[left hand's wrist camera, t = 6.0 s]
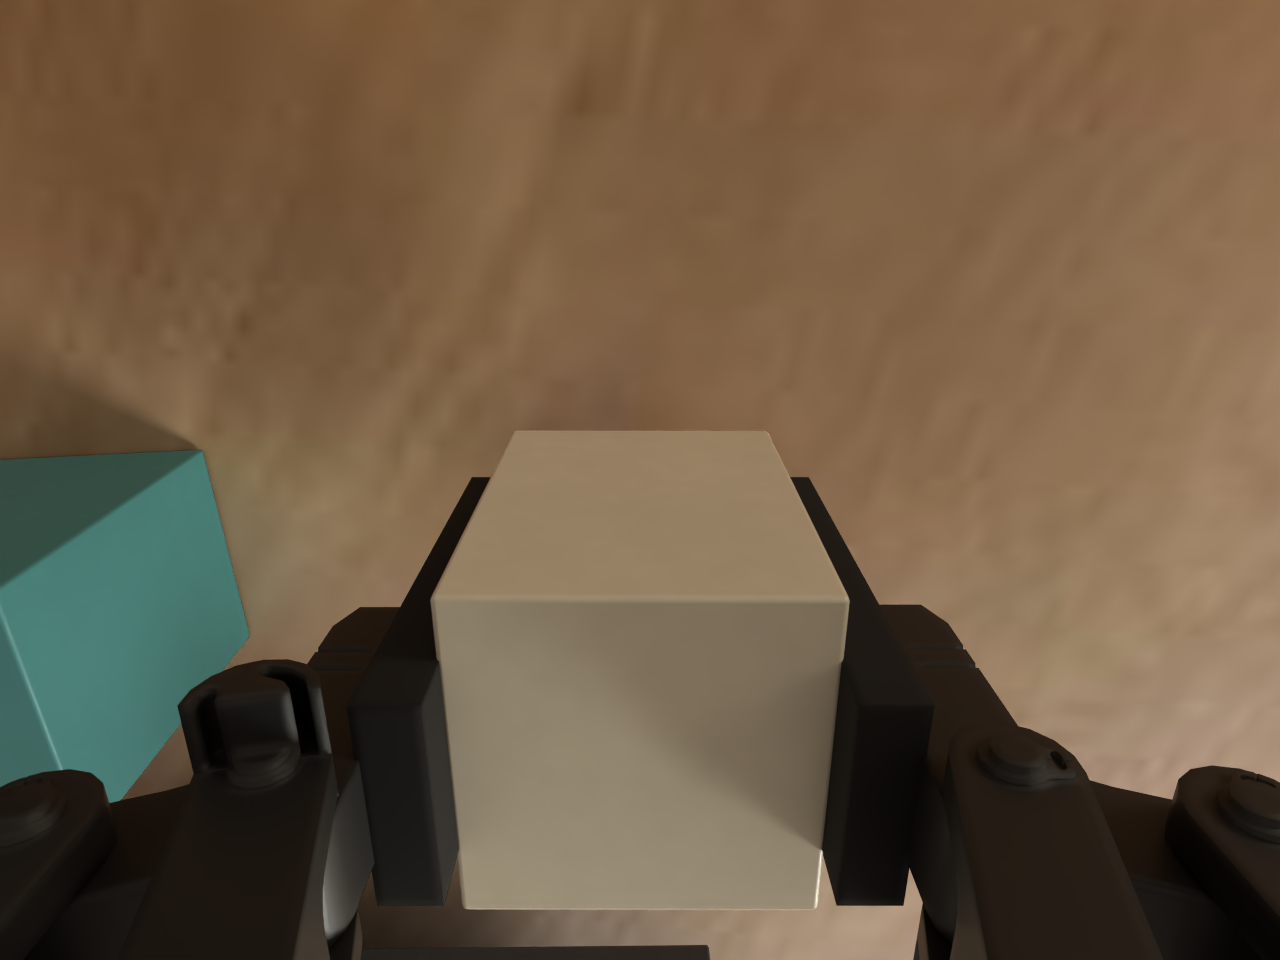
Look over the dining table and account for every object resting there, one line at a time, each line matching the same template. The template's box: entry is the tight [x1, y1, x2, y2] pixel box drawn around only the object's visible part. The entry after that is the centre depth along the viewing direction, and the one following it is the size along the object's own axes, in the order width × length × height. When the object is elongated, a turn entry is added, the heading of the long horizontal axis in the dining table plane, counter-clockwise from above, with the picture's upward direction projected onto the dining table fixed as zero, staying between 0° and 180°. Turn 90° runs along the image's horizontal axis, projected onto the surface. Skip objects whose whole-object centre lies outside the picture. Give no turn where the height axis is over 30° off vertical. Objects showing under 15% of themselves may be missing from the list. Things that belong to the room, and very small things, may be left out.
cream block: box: [430, 431, 850, 910], centre depth 12 cm, size 4×4×6 cm
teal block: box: [0, 450, 249, 803], centre depth 15 cm, size 4×4×6 cm
